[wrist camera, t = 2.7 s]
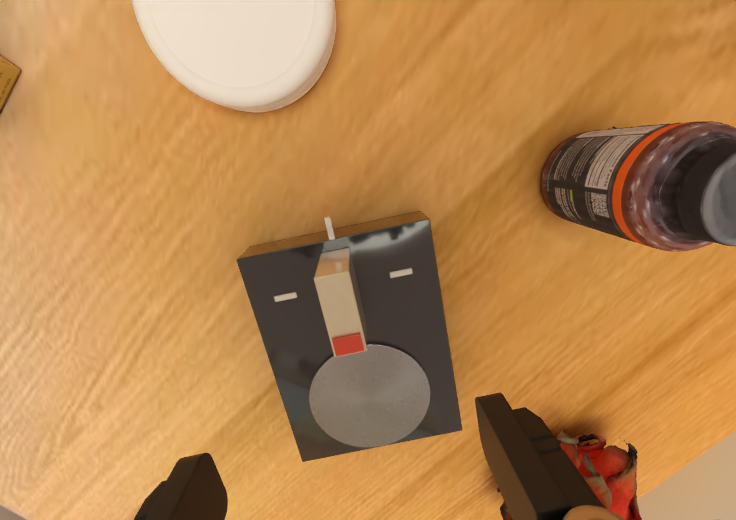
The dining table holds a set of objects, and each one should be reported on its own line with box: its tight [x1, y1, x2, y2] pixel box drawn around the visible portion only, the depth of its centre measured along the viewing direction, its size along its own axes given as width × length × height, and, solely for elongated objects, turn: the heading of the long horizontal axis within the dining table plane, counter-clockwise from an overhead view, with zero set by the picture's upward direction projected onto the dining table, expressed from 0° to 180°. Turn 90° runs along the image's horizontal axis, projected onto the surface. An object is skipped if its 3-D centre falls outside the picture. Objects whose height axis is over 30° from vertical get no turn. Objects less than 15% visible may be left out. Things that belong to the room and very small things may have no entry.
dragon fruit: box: [497, 430, 642, 520], centre depth 28 cm, size 8×8×12 cm
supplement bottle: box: [541, 122, 736, 251], centre depth 19 cm, size 6×6×11 cm
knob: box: [314, 248, 367, 357], centre depth 21 cm, size 5×2×5 cm, turn 12°
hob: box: [237, 211, 462, 462], centre depth 26 cm, size 17×12×3 cm
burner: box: [309, 343, 431, 448], centre depth 25 cm, size 8×8×1 cm
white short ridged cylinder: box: [132, 0, 336, 112], centre depth 20 cm, size 10×10×4 cm
